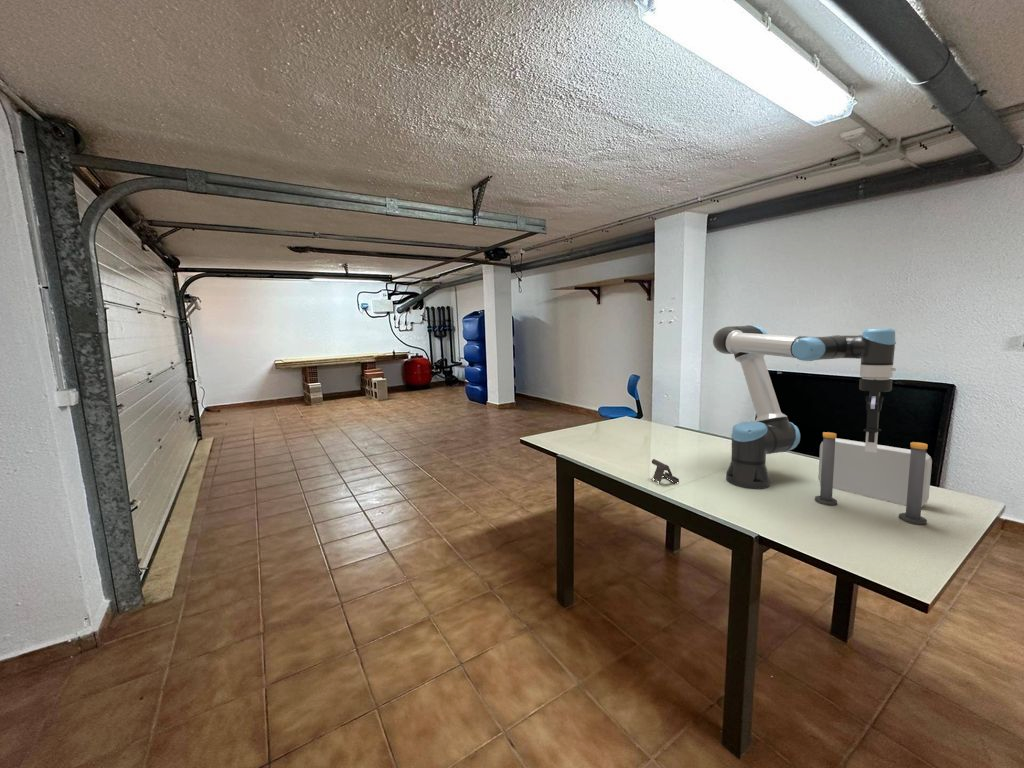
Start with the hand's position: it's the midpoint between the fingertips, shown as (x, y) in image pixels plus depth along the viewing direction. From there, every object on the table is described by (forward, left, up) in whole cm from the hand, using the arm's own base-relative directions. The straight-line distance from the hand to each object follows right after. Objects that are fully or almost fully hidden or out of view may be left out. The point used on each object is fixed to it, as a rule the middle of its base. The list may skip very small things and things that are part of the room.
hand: (870, 451), depth 125 cm
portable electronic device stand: (-61, -16, -20) cm, 66 cm away
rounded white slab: (-1, +17, -20) cm, 26 cm away
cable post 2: (+10, 0, -20) cm, 23 cm away
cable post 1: (-11, 0, -20) cm, 23 cm away
